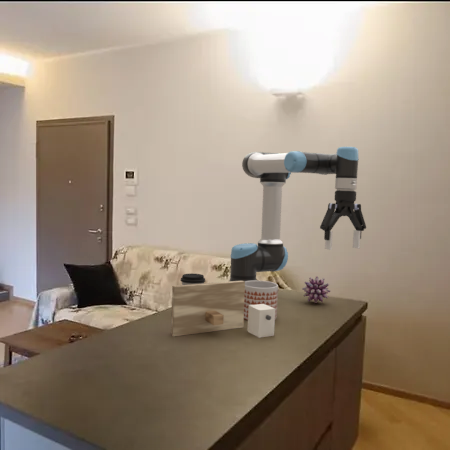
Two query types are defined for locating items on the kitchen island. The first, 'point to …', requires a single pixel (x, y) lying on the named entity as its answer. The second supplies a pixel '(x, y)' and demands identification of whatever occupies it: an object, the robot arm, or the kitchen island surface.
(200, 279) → the coffee cup
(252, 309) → the cabinet
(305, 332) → the kitchen island surface
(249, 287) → the planter
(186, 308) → the wooden board
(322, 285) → the purple spiky ball
